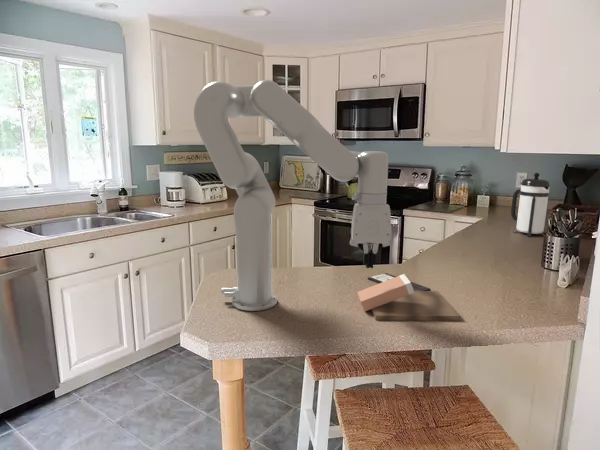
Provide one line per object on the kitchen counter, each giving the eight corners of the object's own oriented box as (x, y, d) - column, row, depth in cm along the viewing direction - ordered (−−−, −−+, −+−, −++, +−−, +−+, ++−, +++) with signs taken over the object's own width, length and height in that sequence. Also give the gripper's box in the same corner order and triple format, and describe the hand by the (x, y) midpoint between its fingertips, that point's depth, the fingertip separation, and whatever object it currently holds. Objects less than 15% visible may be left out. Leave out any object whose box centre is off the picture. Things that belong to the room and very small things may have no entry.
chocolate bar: (411, 294, 127) (367, 277, 141) (410, 297, 127) (367, 280, 141) (430, 288, 132) (386, 273, 146) (430, 291, 132) (386, 275, 146)
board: (375, 319, 110) (375, 315, 110) (364, 294, 128) (364, 290, 127) (460, 320, 110) (461, 316, 110) (437, 294, 128) (437, 291, 128)
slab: (360, 301, 114) (410, 282, 113) (357, 292, 121) (404, 273, 120) (364, 311, 114) (414, 292, 113) (360, 301, 121) (407, 283, 120)
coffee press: (547, 232, 214) (555, 172, 207) (545, 239, 200) (554, 174, 194) (509, 228, 223) (516, 170, 216) (505, 234, 209) (512, 172, 203)
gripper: (344, 201, 108) (342, 271, 112) (404, 201, 108) (400, 271, 112) (341, 197, 115) (339, 262, 119) (396, 197, 115) (393, 262, 119)
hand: (369, 266), depth 115 cm, fingers closed
